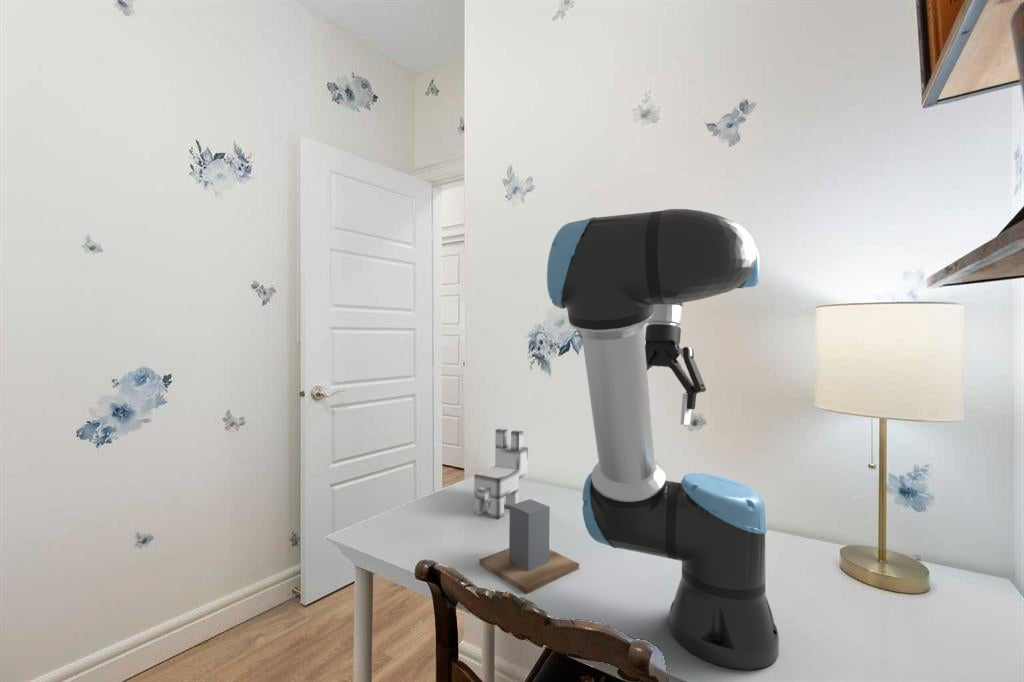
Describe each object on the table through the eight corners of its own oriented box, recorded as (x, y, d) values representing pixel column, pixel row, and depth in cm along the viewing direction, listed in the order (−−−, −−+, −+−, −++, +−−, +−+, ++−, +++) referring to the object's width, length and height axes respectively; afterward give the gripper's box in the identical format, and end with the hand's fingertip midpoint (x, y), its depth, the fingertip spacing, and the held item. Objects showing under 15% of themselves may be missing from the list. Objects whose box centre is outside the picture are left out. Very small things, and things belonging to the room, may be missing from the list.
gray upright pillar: (549, 562, 91) (549, 506, 91) (528, 571, 88) (528, 513, 88) (529, 552, 95) (530, 499, 95) (509, 560, 92) (509, 505, 92)
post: (578, 568, 91) (579, 528, 91) (526, 593, 82) (526, 548, 82) (530, 544, 101) (530, 508, 101) (479, 564, 92) (479, 524, 92)
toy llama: (468, 516, 117) (469, 437, 117) (504, 496, 132) (504, 427, 132) (493, 522, 113) (493, 441, 113) (527, 501, 128) (527, 429, 128)
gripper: (726, 327, 98) (719, 428, 96) (625, 327, 116) (618, 412, 114) (711, 322, 92) (703, 428, 91) (607, 323, 111) (600, 412, 109)
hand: (656, 420), depth 103 cm, fingers open, 13 cm apart
